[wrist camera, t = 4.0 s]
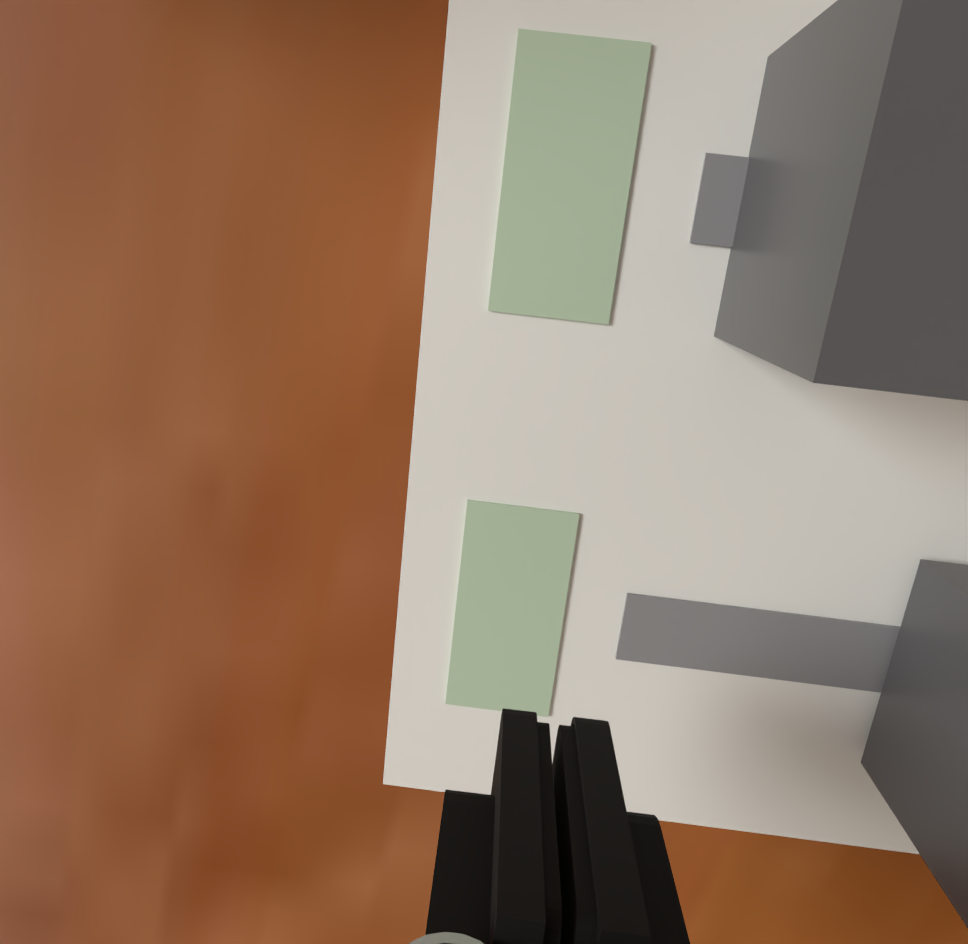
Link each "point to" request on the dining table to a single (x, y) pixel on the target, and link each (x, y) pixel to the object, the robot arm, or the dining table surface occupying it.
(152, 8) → the dining table surface
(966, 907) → the handle
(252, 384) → the dining table surface
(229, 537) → the dining table surface
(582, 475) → the white slider control panel
